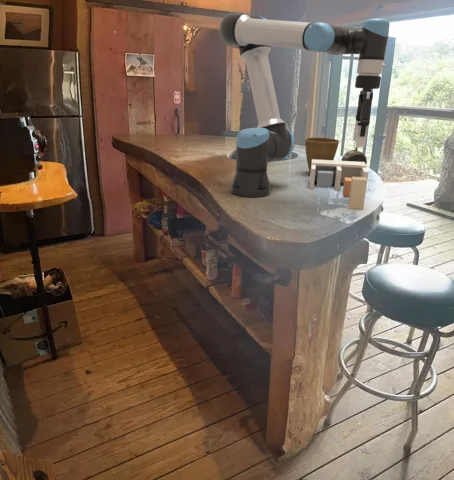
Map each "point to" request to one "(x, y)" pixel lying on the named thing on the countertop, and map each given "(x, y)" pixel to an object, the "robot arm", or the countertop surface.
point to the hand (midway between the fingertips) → (358, 143)
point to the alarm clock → (354, 156)
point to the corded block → (355, 191)
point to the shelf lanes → (338, 170)
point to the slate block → (324, 178)
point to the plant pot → (320, 149)
